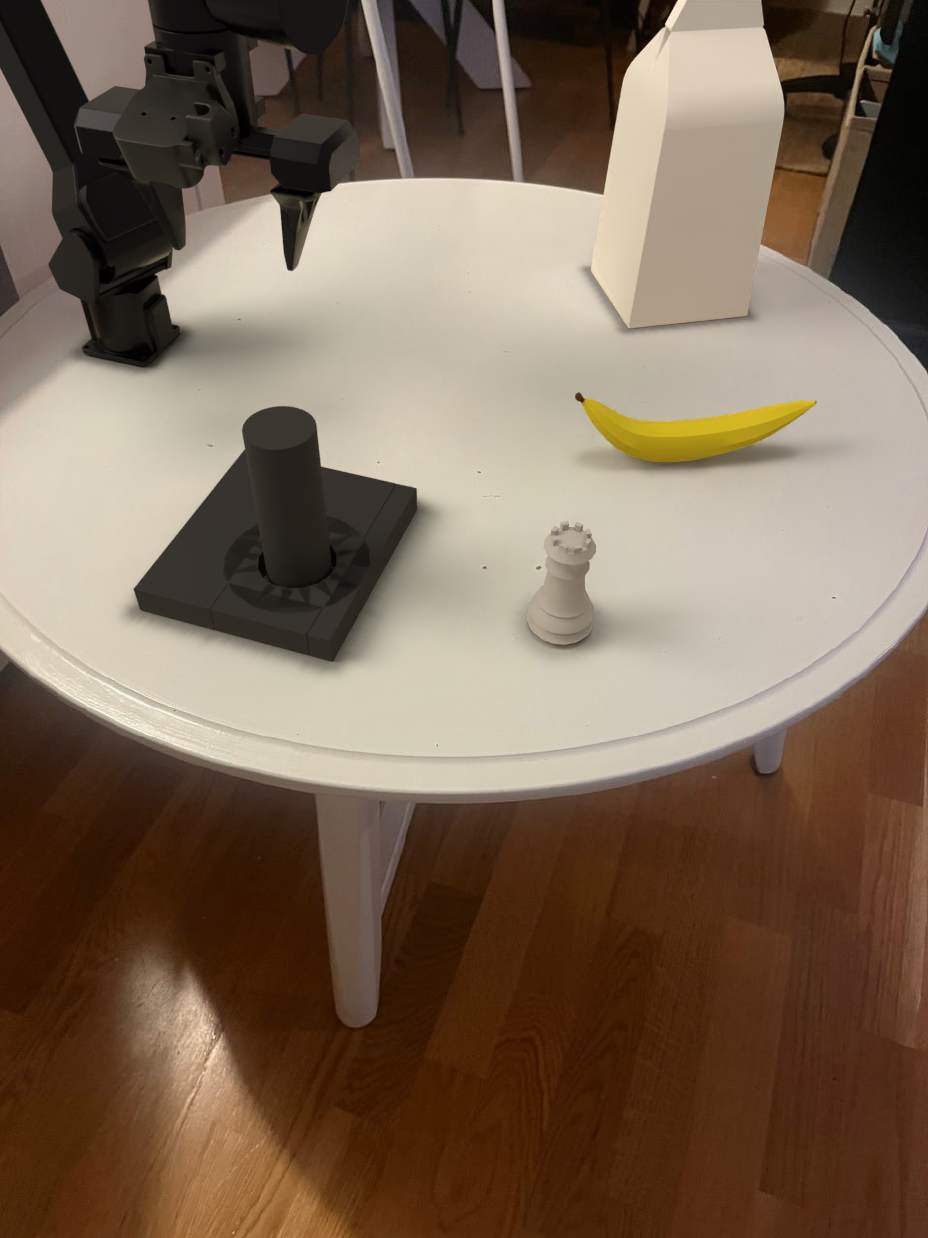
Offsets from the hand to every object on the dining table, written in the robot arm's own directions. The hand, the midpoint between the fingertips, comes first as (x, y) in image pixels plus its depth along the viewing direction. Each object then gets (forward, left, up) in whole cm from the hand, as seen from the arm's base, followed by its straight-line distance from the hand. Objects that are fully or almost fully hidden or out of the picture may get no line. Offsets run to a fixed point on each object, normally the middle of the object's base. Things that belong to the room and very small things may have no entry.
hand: (235, 258), depth 72 cm
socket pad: (+10, -16, -13) cm, 23 cm away
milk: (+29, +31, -13) cm, 44 cm away
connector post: (+12, -18, -13) cm, 25 cm away
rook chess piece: (+30, -16, -13) cm, 36 cm away
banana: (+35, +5, -13) cm, 38 cm away
